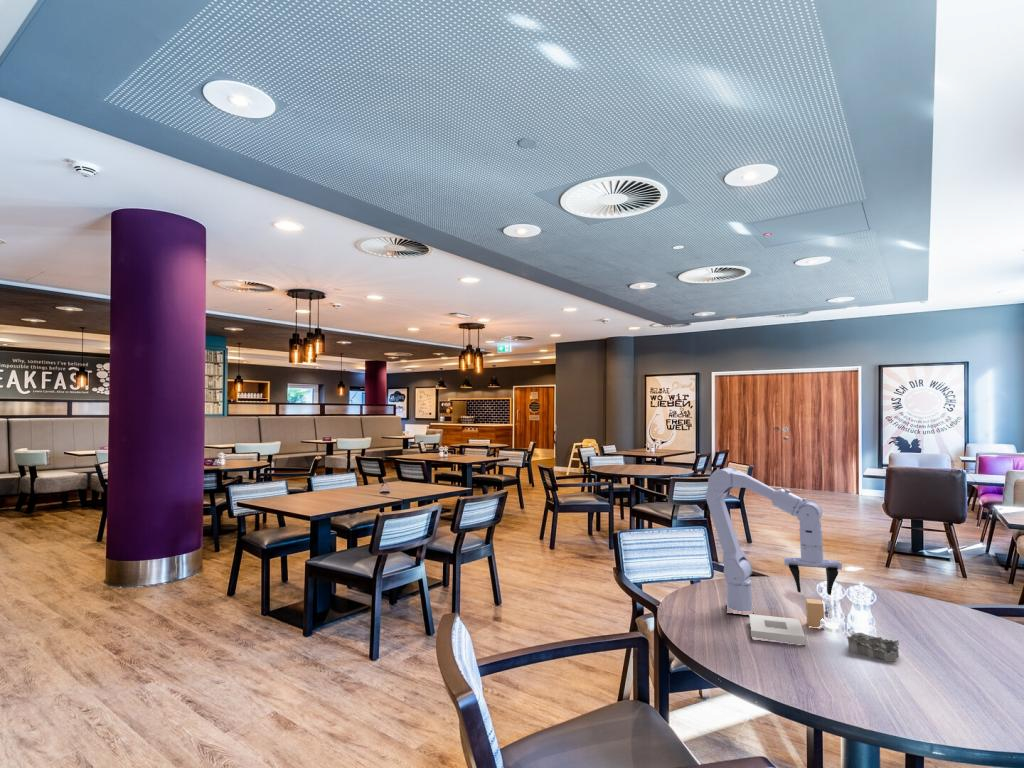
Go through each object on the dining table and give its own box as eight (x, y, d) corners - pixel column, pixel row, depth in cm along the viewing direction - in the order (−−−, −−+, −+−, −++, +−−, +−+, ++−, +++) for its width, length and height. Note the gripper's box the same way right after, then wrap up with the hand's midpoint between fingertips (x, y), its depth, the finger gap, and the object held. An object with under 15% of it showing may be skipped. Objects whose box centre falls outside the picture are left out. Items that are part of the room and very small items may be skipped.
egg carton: (845, 652, 141) (844, 636, 141) (853, 643, 146) (852, 627, 147) (895, 665, 134) (893, 647, 134) (902, 655, 139) (900, 638, 139)
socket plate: (749, 622, 161) (749, 614, 162) (799, 628, 157) (798, 619, 157) (751, 639, 149) (751, 630, 149) (805, 646, 145) (804, 636, 145)
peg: (806, 623, 160) (805, 598, 161) (822, 624, 159) (821, 599, 159) (808, 628, 157) (807, 602, 157) (824, 629, 155) (823, 604, 156)
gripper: (784, 546, 158) (787, 594, 157) (842, 549, 153) (845, 599, 152) (782, 540, 165) (784, 587, 164) (838, 544, 159) (840, 591, 159)
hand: (813, 592), depth 158 cm, fingers open, 7 cm apart
